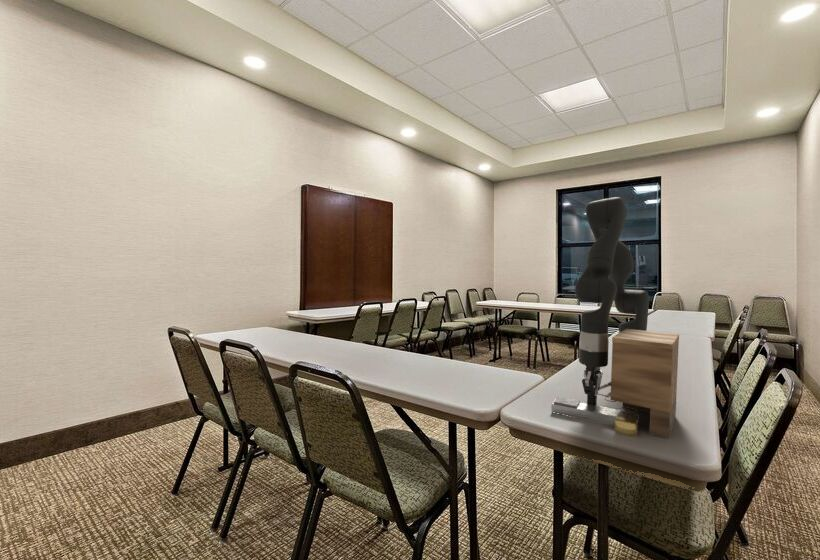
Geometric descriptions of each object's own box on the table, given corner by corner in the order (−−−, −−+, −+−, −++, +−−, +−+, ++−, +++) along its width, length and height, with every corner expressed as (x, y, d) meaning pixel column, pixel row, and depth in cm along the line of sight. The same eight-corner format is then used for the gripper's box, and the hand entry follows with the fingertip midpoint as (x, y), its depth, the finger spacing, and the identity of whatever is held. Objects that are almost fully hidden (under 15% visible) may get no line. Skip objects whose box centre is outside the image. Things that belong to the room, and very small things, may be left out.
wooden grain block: (623, 405, 116) (626, 328, 115) (675, 416, 108) (679, 334, 107) (609, 424, 101) (612, 337, 100) (668, 439, 93) (672, 344, 92)
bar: (555, 407, 114) (556, 395, 114) (638, 424, 103) (638, 411, 103) (551, 414, 109) (551, 401, 109) (637, 432, 98) (637, 418, 98)
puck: (615, 426, 100) (616, 415, 100) (638, 431, 97) (638, 419, 97) (613, 433, 96) (613, 421, 96) (636, 438, 93) (636, 426, 93)
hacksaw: (615, 382, 141) (615, 377, 141) (646, 389, 133) (646, 385, 133) (581, 394, 126) (582, 390, 126) (614, 403, 118) (614, 399, 118)
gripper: (586, 342, 117) (584, 398, 118) (573, 349, 107) (571, 410, 107) (613, 346, 112) (611, 404, 113) (602, 353, 102) (600, 417, 103)
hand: (591, 407), depth 110 cm, fingers closed
